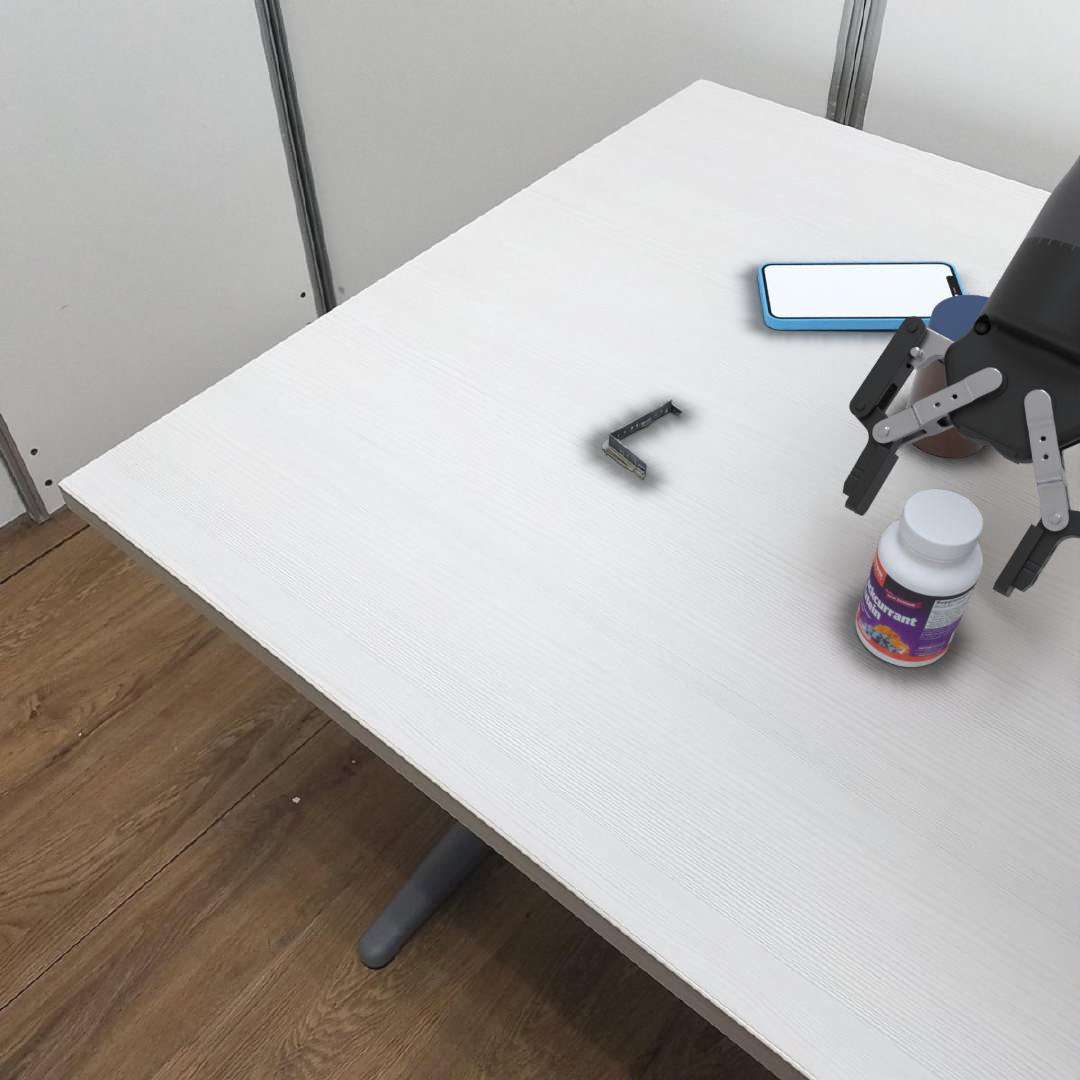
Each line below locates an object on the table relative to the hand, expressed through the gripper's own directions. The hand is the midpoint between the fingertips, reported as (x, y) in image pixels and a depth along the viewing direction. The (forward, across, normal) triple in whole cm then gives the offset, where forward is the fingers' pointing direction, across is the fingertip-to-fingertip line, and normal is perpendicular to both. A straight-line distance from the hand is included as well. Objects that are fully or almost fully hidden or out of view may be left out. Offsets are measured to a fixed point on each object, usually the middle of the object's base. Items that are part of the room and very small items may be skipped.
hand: (924, 551), depth 60 cm
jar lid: (-13, -7, +12) cm, 20 cm away
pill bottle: (+5, 0, +6) cm, 8 cm away
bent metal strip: (+3, -21, +8) cm, 23 cm away
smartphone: (-14, -19, +25) cm, 34 cm away
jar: (-7, -7, +18) cm, 21 cm away
